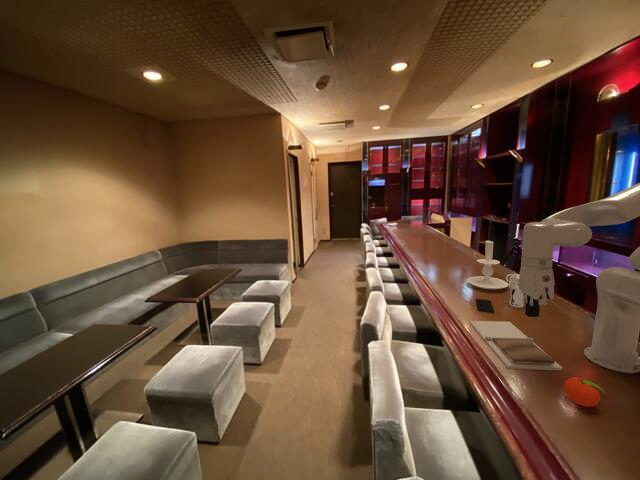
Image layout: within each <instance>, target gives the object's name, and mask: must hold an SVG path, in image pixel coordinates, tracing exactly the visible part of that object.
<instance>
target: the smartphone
mask: <svg viewBox="0 0 640 480" xmlns="http://www.w3.org/2000/svg"><path fill="white" fill-rule="evenodd" d="M475 304H476V310H477V312H481V313H488V314H495V309H494V306H493V303H492V300H490V299H484V298H483V299H482V298H475Z"/></svg>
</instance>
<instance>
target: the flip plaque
mask: <svg viewBox="0 0 640 480" xmlns="http://www.w3.org/2000/svg"><path fill="white" fill-rule="evenodd" d="M492 341H493V342H494V343H495V344H496V345H497V346H498V347H499V348H500V349H501V350H502V351H503V352H504V353H505V354H506V355H507V357H508V358H509V359H510V360H511V361H512V362H513V363H538V364H554V362H556V360H554V358H552V357H551V356H550V355H549V354H547V353H546V352H545V351H544V350H543V349H542V348H540V347H539V346H538V345H537V344H536V345H537V346H538V347H539V348H540V349H539V348H538V347H537V346H536V345H534V344H533V343H532V342H531V341H529V340H528V339H523V338H492ZM541 349H542V350H543V351H544V352H545V353H544V352H543V351H542V350H541ZM548 355H549V356H550V357H549V356H548Z"/></svg>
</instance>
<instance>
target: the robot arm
mask: <svg viewBox="0 0 640 480" xmlns="http://www.w3.org/2000/svg"><path fill="white" fill-rule="evenodd" d="M638 217H640V182H638V183H636V184H633V185H632V186H629V187H627V188H624V189H623V190H621V191H619V192H617V193H614V194H612V195H610V196H607V197H605V198H602V199H599V200H596V201H595V200H594V201H591V202H587V203H584V204H580V205H577V206H572V207H569V208H566V209H563V210H561V211H558V212H555V213H554V214H552V215H549V216H547V217H545V218H544V219H542V220H541V221H533V222H532V221H531V222H527V223H526V224H524V226H523V233H522V234H523V237H522V245H521V246H522V247H521V248H522V249H521V258H520V259H521V262H520V265H521V266H520V270H519V289H520V290H521V292H522V293H523V294H524V302H525V306H524V307H525V310H524V315H526V316H527V317H528V318H538V317H540V308H541V307H542V306H547V305H548V300H549V301H552V300H553V299H554V295H555V277H554V269H553V262H554V261H553V259H554V249H555V247H556V246H557V247H567V248H571V247H572V248H573V247H574V248H575V247H580V246H583V245H585V244H587V243H589V242H590V240H591V239H592V237H593V231H592V229H591V228H590V227H597V226H601V227H602V226H603V227H604V226H613V225H614V226H615V225H619V224H625V223H627V222H629V221H631V220H634V219H637V218H638ZM628 262H629V264H630V266H632V268H634V269H630V268H625V267H618V266H617V267H616V266H615V267H614V266H612V267H607V268H605V269H603V270H601V271H600V272H599V273H598V275H597V277H596V281H595V285H596V292H597V308H596V313H595V320H594V327H593V332H592V333H593V335H592V340H591V346H588V347H586V348H584V351H583V355H584V356H585V357H586V358H587V359H588V360H589V361H590V362H592V363H594V364H596V365H597V366H600V367H603V368H604V369H605V368H606V369H608V370H611V371H615V372H620V373H623V374H624V373H625V374H636V373H639V372H640V356H639V352H638V351H637V347H638V342H639V335H640V246H638V247H637V248H636V249H635V250H634V251H633V252H632V253H631V254H630V255H629V258H628ZM637 270H638V271H637Z"/></svg>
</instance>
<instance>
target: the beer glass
mask: <svg viewBox="0 0 640 480" xmlns="http://www.w3.org/2000/svg"><path fill="white" fill-rule="evenodd" d="M511 274H512V275H510V276H509V281H510V282H509V283H508V284H509V285H508V287H509V301H508V305H509V306H510V307H513V308H517V309H522V308H524V307H525V303H524V302H525V296H524V294H523V293H522V292H521V290H520V289H519V275H520V273H518V274H517V273H511Z"/></svg>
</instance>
